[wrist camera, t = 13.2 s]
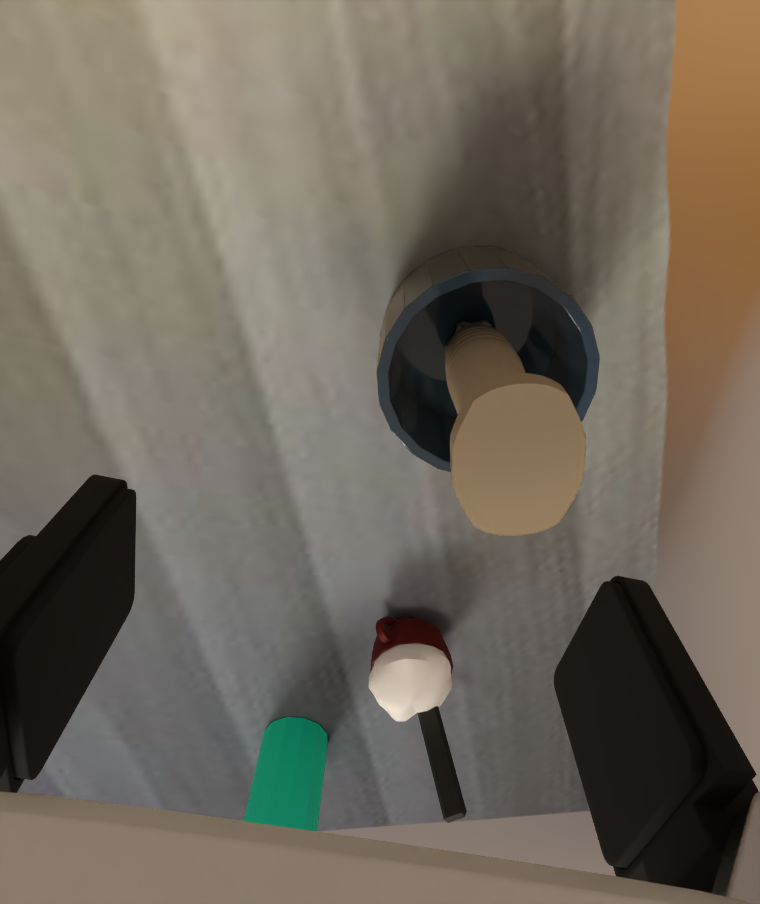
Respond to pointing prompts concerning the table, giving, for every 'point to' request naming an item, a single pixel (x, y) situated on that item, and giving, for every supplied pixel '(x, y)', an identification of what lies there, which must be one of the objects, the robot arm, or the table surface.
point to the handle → (509, 436)
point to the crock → (472, 299)
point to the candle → (289, 775)
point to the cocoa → (418, 694)
